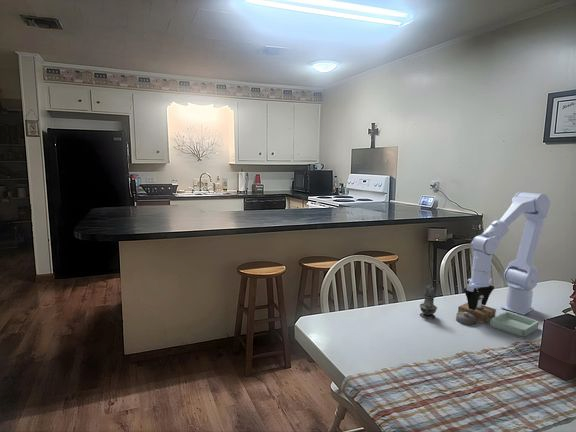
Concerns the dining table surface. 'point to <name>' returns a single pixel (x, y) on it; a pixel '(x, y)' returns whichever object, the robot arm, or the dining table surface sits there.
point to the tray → (514, 324)
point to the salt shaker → (428, 304)
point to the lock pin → (479, 302)
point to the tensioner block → (474, 314)
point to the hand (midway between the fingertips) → (477, 306)
